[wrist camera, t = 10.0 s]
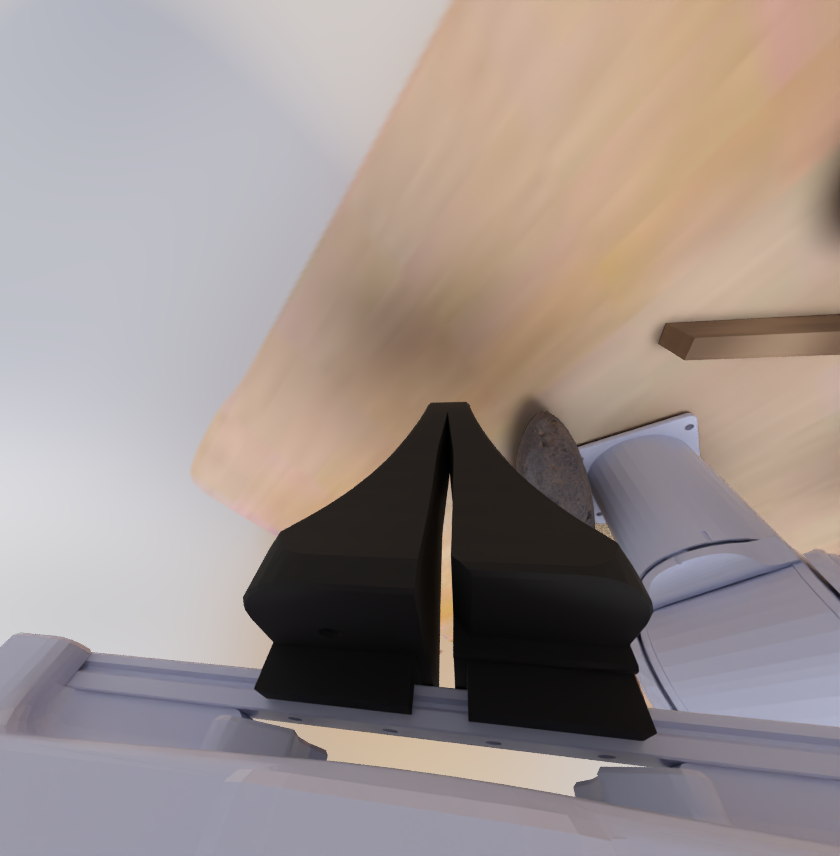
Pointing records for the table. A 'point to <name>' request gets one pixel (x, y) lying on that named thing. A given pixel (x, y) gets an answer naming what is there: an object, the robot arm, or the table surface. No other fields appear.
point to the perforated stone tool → (556, 466)
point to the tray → (754, 337)
